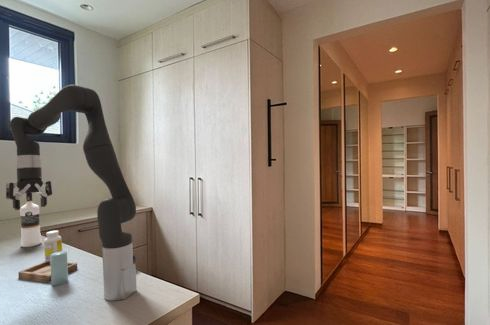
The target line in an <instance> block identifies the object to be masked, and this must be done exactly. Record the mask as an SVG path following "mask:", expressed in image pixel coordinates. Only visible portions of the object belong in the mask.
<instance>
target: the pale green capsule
mask: <svg viewBox="0 0 490 325" xmlns="http://www.w3.org/2000/svg"><path fill="white" fill-rule="evenodd" d="M67 262H68V251H65V250H62V251H61V252H56V253H53V254H51V255H50V265H51V282H50V283H51V286H56V287H57V286H60V285H64V284H66V283H68V281H69V273H68V264H67Z"/></svg>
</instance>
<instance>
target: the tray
mask: <svg viewBox="0 0 490 325" xmlns="http://www.w3.org/2000/svg"><path fill="white" fill-rule="evenodd" d="M67 264H68V274H70V273H72V272H74V271H76V270H78V263H77V262H71V261H70V262H69V261H67ZM18 279H20V280H21V279H22V280H27V281H36V282H43V283H51V265H50V260H48V261H47V260H45V261H42V262H41V263H38V264H35V265H33V266H30V267H28V268H25V269H22V270H20V271H18Z"/></svg>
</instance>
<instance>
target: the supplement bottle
mask: <svg viewBox="0 0 490 325" xmlns="http://www.w3.org/2000/svg"><path fill="white" fill-rule="evenodd" d="M59 233H60V232H59V230H50V231H47V232H46V238H44V240H43V243H44V244H43V245H44V259H45V261H48V260H50V255H51V254H53V253H56V252H61V251H63V242H62V241H63V240H62V236H61V235H59Z"/></svg>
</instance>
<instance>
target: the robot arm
mask: <svg viewBox="0 0 490 325" xmlns="http://www.w3.org/2000/svg"><path fill="white" fill-rule="evenodd" d="M101 103H102V102H101V99H100V96H99V95H98V93H97V92H96V91H95V90H94V89H92V88H88V87H84V86H80V85H76V84H69V85H66V86H64V87H62V88H61V89H60V90H59V91H58V92H57V93H56V94H55V95H54V96H53V97H51V99H50V100H49V101H48V102H47V103H46V104H44V105H43V106H42V107H40V108H38V109H36V110H34V111H33V112H31V113H30V114H29V115H28V117H25V116H14V117H12V118H11V120H10V122H9V129H10V132H11V135H12V137H13V140H14V143H15V145H16V161H15V163H16V165H15V167H16V180H17V181H16V182H8V183H6V185H5V186H6V187H5V189H6V190H5V198H6V200H11V201H12V209H14V210H15V211H20V208H21V200H20V198H21V197H22V196H24V194H26V193H32V194H34V193H36V194H38V196H40V208H43V207H44V208H45V207H47V205H48V197H49V196H52V195H53V189H52V181H51V180H47V181H43V180H42V178H43V175H42V172H43V171H42V160H41V148H40V143H39V142H37V141H36V140H32V139H29V138H28V136H29V137H30V136H31V137H39V136H42V135H43V134H44V133H45V132H46V130H47V129H48V128H49V127H51V126H54V125H55V124H57V123H58V122H59V121H60V119H61V116H62V115H61V114H62V113H65V112H72V113H73V112H75V113H78V114H79V113H81V114H84V115H85V117H86V120H87V125H88V128H87V129H88V130H87V133H86V135H85V138H84V141H83V145H82V149H83V153H84V156H85V159H86V163H87V165H88V167H89V169H90V170H91V171H92V172H93V173H94V175H96V176H97V177H98V178H99V179H100V180H101V181H102V182H103V184H105V185H106V187H107V188H108V191H109V193H110V196H111V198H106V199H103V200H102V201H100V203H99V204H98V207H97V210H96V211H97V212H96V213H97V215H96V216H97V224H98V225H97V227H98V235H99V236H98V237H99V239H100V241H101V246H102V247H101V248H102V249H101V250H102V251H101V253H102V271H103V272H102V275H103V276H102V277H103V278H102V279H103V298H104V299H105V300H106V301H120V300H125V299H127V298H128V297H130V296H131V295H132V294H134V293H135V292H136V291H137V267H136V263H135V264H133V255H134V253H133V236H132V235H133V234H132V233H130V232H127V231H123V229H122V224H123V223H126V222H129V221H131V220H133V219H134V218H135V216H136V213H137V206H136V203H135V199H134V197H133V196H132V193H131V192H130V189H129V187H128V185H127V182H126V180H125V178H124V175H123V172H122V169H121V166H120V164H119V161H118V158H117V154H116V151H115V149H114V145H113V143H112V141H111V138H110V133H109V130H108V128H107V125H106V121H105V117H104V111H103V106H102V104H101ZM42 186H43V187H44V188H45V189H43V188H42ZM15 188H18V190H17V191H16V192H15V194H14V189H15Z"/></svg>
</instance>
